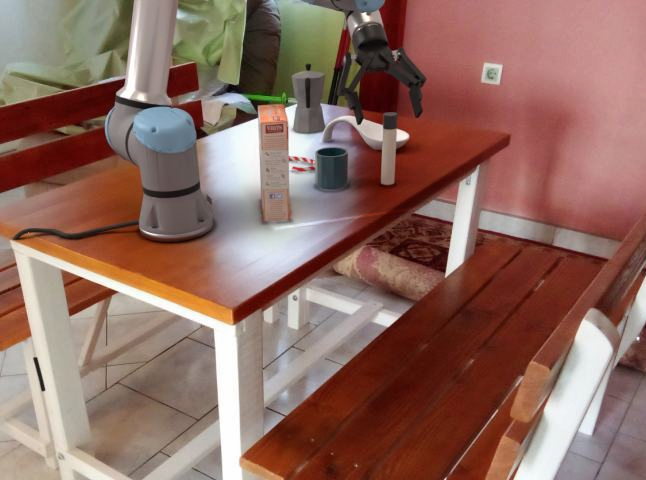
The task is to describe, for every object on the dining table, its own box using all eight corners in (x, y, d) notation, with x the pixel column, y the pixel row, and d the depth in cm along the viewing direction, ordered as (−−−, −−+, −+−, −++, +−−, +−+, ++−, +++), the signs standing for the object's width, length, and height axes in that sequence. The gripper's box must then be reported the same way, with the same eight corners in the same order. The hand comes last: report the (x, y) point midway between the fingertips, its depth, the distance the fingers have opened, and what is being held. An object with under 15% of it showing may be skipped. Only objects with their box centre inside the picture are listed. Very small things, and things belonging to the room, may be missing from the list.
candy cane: (282, 151, 186) (326, 161, 176) (282, 156, 186) (326, 166, 177) (261, 158, 181) (305, 170, 172) (261, 163, 182) (305, 175, 173)
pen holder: (321, 193, 162) (321, 158, 157) (311, 183, 168) (311, 149, 163) (351, 189, 163) (352, 154, 159) (341, 179, 169) (341, 145, 165)
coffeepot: (293, 123, 213) (292, 59, 203) (325, 122, 212) (325, 58, 202) (291, 138, 200) (289, 70, 190) (325, 137, 199) (325, 69, 189)
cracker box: (291, 221, 148) (289, 119, 137) (262, 223, 148) (257, 121, 137) (287, 198, 160) (285, 102, 149) (261, 199, 160) (256, 104, 149)
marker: (383, 187, 162) (386, 116, 154) (378, 183, 165) (381, 113, 156) (396, 186, 163) (400, 114, 154) (391, 181, 165) (394, 111, 157)
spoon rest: (415, 144, 188) (417, 117, 185) (398, 157, 180) (400, 129, 176) (334, 135, 200) (334, 109, 196) (314, 147, 191) (314, 120, 187)
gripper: (317, 27, 155) (339, 114, 150) (425, 17, 159) (449, 102, 154) (311, 50, 162) (331, 133, 157) (414, 40, 166) (437, 121, 161)
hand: (390, 118), depth 156 cm, fingers open, 13 cm apart
